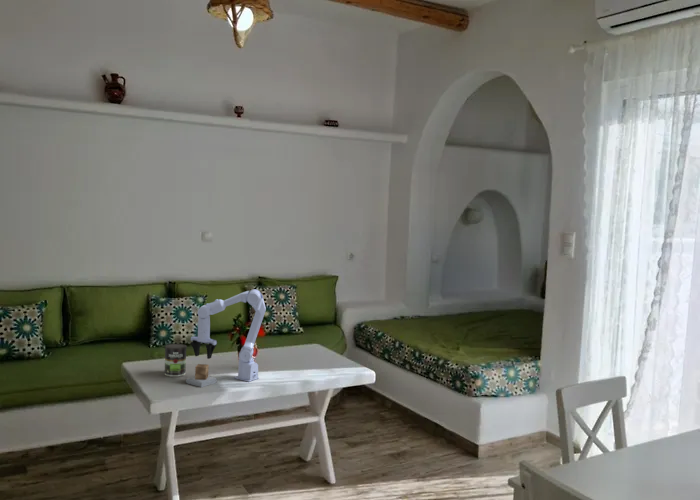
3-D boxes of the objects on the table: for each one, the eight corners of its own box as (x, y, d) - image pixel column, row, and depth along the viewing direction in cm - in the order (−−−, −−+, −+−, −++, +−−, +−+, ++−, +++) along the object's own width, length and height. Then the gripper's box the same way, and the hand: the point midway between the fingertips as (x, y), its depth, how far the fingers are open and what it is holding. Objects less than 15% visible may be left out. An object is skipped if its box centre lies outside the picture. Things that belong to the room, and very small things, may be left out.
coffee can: (185, 376, 300) (186, 348, 298) (164, 377, 297) (164, 348, 296) (185, 370, 309) (186, 343, 308) (164, 371, 307) (165, 343, 305)
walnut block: (208, 376, 294) (208, 364, 293) (205, 379, 289) (205, 367, 288) (197, 376, 294) (198, 364, 293) (195, 379, 289) (195, 366, 288)
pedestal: (216, 382, 293) (216, 377, 293) (201, 387, 284) (201, 382, 284) (201, 378, 298) (201, 373, 298) (186, 383, 289) (186, 378, 289)
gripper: (220, 330, 299) (220, 357, 300) (197, 326, 305) (197, 353, 306) (211, 333, 292) (210, 360, 293) (188, 328, 299) (187, 356, 300)
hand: (203, 357), depth 299 cm, fingers open, 7 cm apart
